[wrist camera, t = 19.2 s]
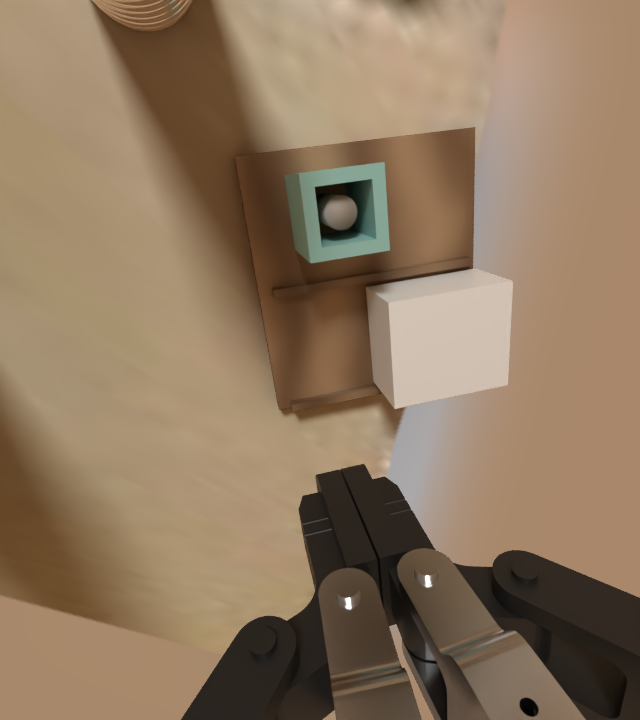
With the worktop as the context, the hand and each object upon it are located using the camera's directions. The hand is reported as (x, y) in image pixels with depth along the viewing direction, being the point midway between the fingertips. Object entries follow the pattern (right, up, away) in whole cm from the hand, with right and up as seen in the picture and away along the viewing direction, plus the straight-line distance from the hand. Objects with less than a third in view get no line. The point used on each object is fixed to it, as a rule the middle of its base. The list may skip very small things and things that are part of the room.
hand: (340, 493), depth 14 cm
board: (+3, +11, +22) cm, 24 cm away
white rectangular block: (+8, +7, +23) cm, 25 cm away
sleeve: (0, +15, +18) cm, 23 cm away
